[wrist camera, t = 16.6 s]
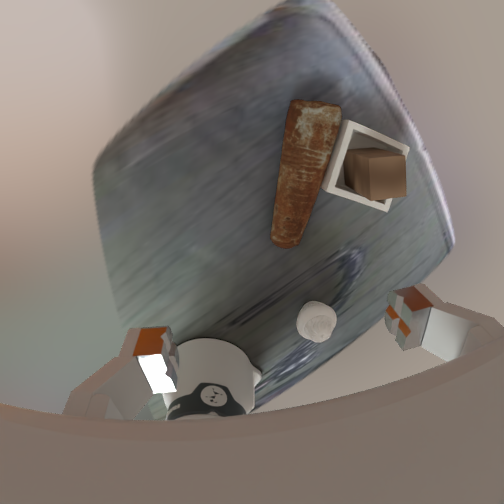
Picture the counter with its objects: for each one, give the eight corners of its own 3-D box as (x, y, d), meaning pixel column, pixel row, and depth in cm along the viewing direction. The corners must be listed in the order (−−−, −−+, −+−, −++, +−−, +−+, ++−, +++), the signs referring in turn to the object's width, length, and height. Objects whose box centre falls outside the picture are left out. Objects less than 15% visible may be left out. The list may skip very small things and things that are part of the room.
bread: (335, 109, 34) (351, 108, 29) (297, 244, 41) (307, 262, 36) (287, 95, 33) (297, 91, 28) (253, 236, 40) (257, 253, 35)
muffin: (312, 329, 48) (323, 358, 41) (284, 314, 46) (292, 344, 40) (337, 303, 46) (352, 330, 39) (309, 285, 44) (321, 313, 38)
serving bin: (371, 201, 39) (387, 212, 34) (314, 182, 38) (326, 191, 33) (390, 143, 36) (409, 147, 31) (334, 119, 34) (349, 119, 30)
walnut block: (375, 180, 37) (406, 196, 30) (344, 184, 37) (370, 201, 30) (373, 147, 35) (405, 155, 28) (341, 149, 35) (368, 158, 28)
